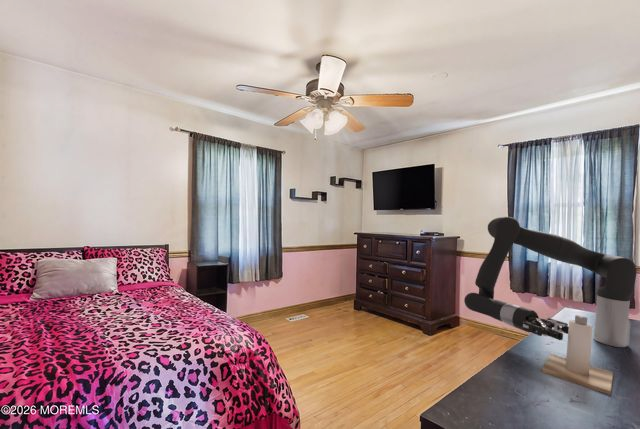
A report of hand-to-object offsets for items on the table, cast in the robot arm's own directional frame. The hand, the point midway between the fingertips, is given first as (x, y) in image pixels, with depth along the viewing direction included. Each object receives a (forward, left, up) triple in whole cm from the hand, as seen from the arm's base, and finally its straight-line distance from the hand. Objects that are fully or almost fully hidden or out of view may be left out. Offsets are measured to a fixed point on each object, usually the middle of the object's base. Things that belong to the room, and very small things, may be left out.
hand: (570, 335), depth 95 cm
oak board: (-1, +2, -10) cm, 11 cm away
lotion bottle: (-1, +2, -9) cm, 10 cm away
